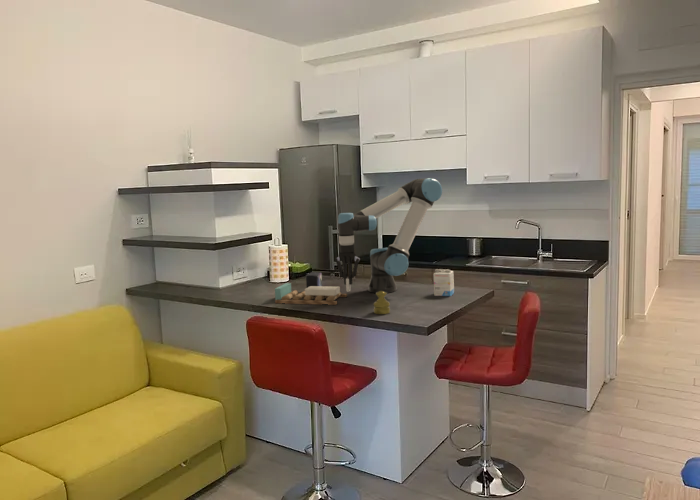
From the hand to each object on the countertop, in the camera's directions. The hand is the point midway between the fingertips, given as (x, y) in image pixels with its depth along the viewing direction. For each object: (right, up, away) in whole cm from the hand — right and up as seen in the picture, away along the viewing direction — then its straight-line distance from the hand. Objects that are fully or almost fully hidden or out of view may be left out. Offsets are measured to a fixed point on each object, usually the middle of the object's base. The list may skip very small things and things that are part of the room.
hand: (348, 290), depth 277 cm
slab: (-13, -2, +4) cm, 14 cm away
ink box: (+49, -2, +6) cm, 49 cm away
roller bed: (-19, -5, +6) cm, 21 cm away
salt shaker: (+15, -8, -27) cm, 32 cm away
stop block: (-34, -5, +11) cm, 36 cm away
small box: (-19, -3, +25) cm, 31 cm away
